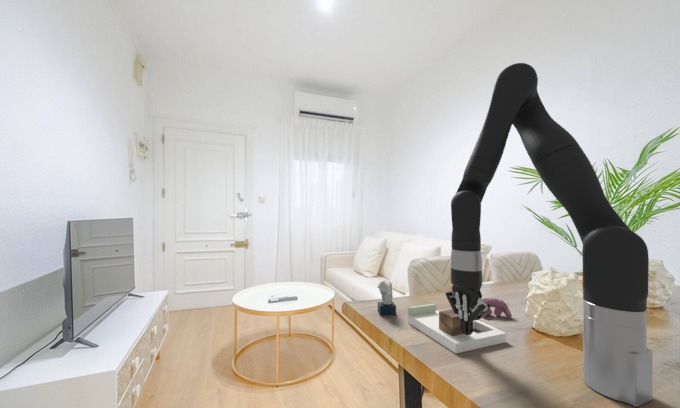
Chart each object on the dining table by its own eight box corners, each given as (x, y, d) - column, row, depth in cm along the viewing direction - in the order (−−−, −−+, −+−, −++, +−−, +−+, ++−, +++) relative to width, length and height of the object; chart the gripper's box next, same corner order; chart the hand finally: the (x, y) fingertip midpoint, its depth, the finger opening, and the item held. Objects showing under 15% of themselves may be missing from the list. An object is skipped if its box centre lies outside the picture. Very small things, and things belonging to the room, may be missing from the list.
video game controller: (507, 320, 95) (503, 299, 99) (513, 319, 91) (509, 297, 95) (477, 319, 96) (474, 298, 100) (482, 317, 92) (479, 296, 96)
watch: (391, 308, 101) (391, 278, 101) (397, 317, 93) (397, 284, 93) (376, 308, 100) (376, 278, 101) (380, 317, 92) (381, 284, 93)
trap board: (506, 342, 76) (506, 323, 76) (455, 353, 69) (455, 333, 70) (452, 315, 95) (452, 301, 95) (408, 322, 88) (408, 307, 88)
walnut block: (466, 333, 75) (466, 314, 75) (452, 336, 74) (452, 317, 74) (452, 326, 80) (452, 308, 80) (438, 328, 78) (439, 310, 78)
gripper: (499, 270, 68) (499, 342, 67) (457, 261, 80) (458, 322, 80) (476, 273, 65) (477, 348, 64) (437, 263, 77) (437, 326, 77)
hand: (466, 333), depth 72 cm, fingers closed
